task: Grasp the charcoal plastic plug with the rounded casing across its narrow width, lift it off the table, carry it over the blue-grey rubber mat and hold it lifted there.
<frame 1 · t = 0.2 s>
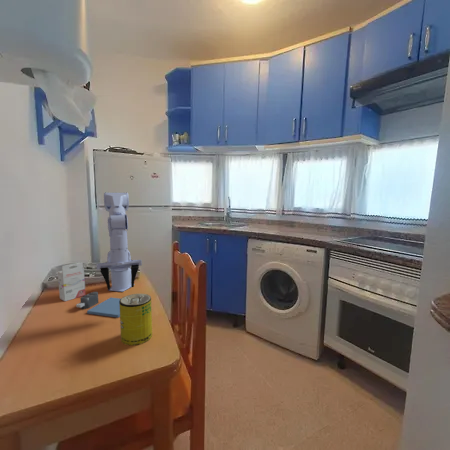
hand: (120, 288, 93), 10 cm above the table, tool pointing down, fingers open, 7 cm apart
ink cartridge box: (72, 297, 112), on the table
blue-grey mat: (114, 308, 101), on the table
beverage can: (137, 337, 81), on the table
charcoal plug: (90, 305, 104), on the table
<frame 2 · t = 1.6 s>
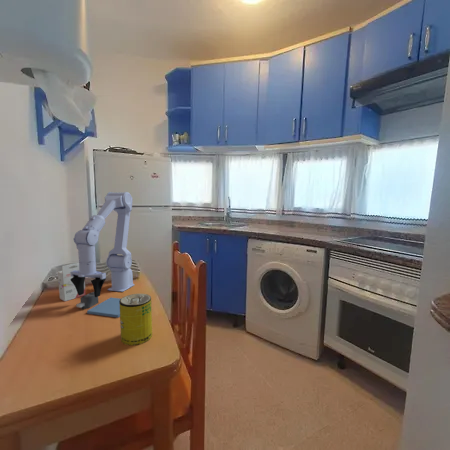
hand: (89, 295, 103), 4 cm above the table, tool pointing down, fingers open, 7 cm apart
nothing on the table moved.
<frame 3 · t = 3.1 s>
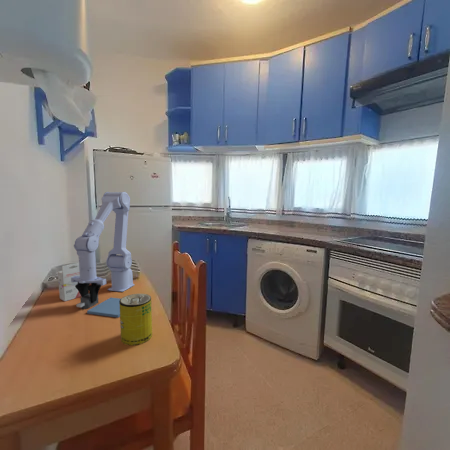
hand: (89, 301, 103), 2 cm above the table, tool pointing down, fingers closed on charcoal plug, 3 cm apart
charcoal plug: (89, 305, 104), on the table, touching gripper
everything else where it was.
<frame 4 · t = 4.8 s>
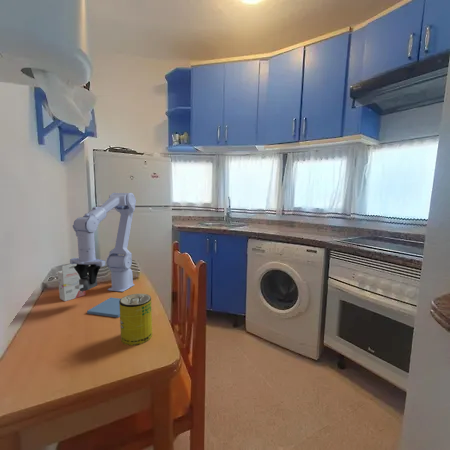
hand: (88, 283, 102), 9 cm above the table, tool pointing down, fingers closed on charcoal plug, 3 cm apart
charcoal plug: (88, 287, 103), point 7 cm above the table, touching gripper
everything else where it was.
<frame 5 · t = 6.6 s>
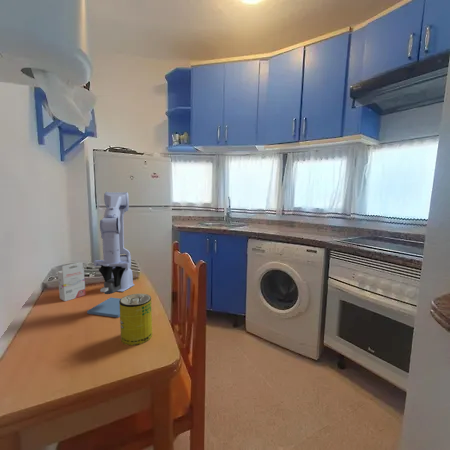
hand: (113, 285, 100), 9 cm above the table, tool pointing down, fingers closed on charcoal plug, 3 cm apart
charcoal plug: (113, 290, 100), point 7 cm above the table, touching gripper
everything else where it was.
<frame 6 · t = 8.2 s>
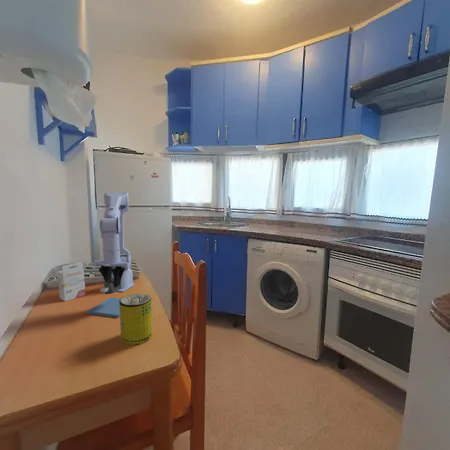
hand: (113, 285, 100), 9 cm above the table, tool pointing down, fingers closed on charcoal plug, 3 cm apart
charcoal plug: (113, 290, 100), point 7 cm above the table, touching gripper
everything else where it was.
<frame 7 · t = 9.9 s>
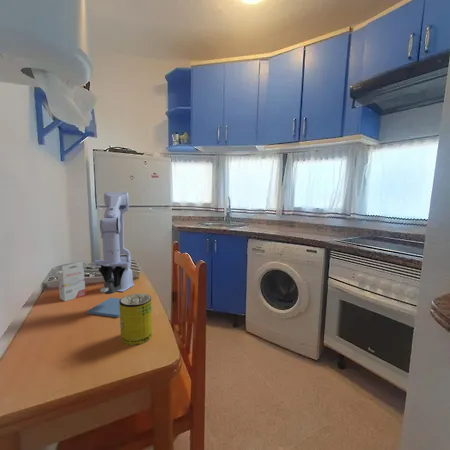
hand: (113, 285, 100), 9 cm above the table, tool pointing down, fingers closed on charcoal plug, 3 cm apart
charcoal plug: (113, 290, 100), point 7 cm above the table, touching gripper
everything else where it was.
at the end: the gripper is holding charcoal plug; charcoal plug point 7.0 cm above the table; charcoal plug inside the target area (0.2 cm from its centre), point 7.0 cm above the table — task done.
